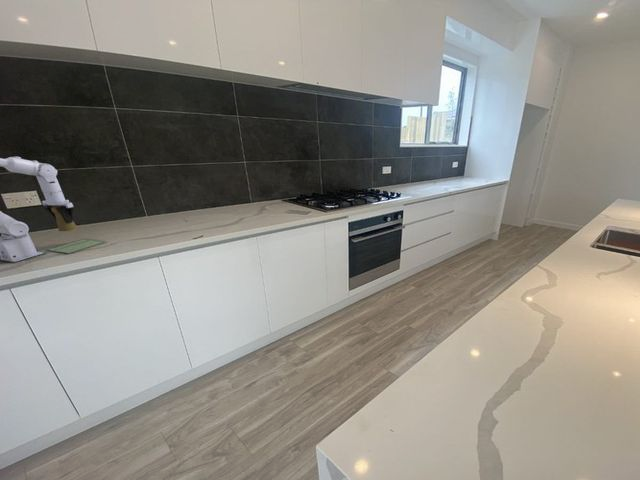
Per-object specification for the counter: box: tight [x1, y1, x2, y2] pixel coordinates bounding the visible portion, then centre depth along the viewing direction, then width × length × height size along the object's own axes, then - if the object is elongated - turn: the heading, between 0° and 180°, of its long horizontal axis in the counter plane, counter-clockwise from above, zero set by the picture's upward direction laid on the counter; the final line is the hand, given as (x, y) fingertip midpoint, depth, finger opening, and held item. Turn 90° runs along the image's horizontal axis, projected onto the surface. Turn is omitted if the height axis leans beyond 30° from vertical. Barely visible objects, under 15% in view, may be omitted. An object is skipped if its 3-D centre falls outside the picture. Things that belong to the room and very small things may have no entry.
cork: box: [51, 206, 78, 232], centre depth 134 cm, size 6×6×11 cm
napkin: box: [47, 238, 104, 255], centre depth 135 cm, size 14×12×1 cm
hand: (65, 221), depth 135 cm, fingers closed on cork, 5 cm apart
